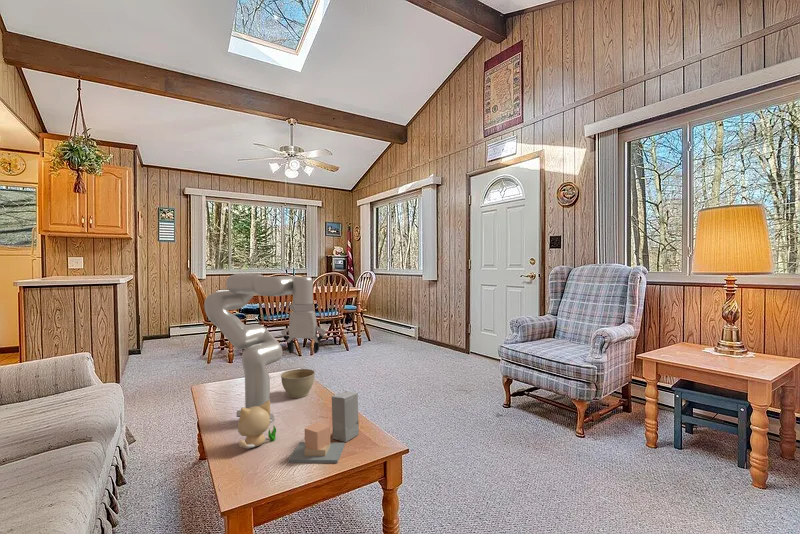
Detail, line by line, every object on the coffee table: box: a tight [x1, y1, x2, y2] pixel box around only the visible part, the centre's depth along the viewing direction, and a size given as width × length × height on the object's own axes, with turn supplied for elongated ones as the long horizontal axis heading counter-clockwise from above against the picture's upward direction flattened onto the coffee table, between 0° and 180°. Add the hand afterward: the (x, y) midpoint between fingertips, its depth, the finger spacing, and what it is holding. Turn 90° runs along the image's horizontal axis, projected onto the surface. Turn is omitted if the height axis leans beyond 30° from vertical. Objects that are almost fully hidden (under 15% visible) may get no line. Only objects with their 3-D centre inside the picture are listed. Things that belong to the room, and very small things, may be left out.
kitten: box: [237, 400, 277, 449], centre depth 136 cm, size 15×10×15 cm, turn 133°
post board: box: [288, 441, 346, 464], centre depth 128 cm, size 16×12×6 cm
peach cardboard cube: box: [304, 422, 331, 451], centre depth 128 cm, size 6×6×6 cm
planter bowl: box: [280, 368, 316, 399], centre depth 187 cm, size 16×16×11 cm
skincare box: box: [331, 390, 360, 444], centre depth 141 cm, size 8×7×16 cm
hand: (303, 352), depth 147 cm, fingers open, 9 cm apart
